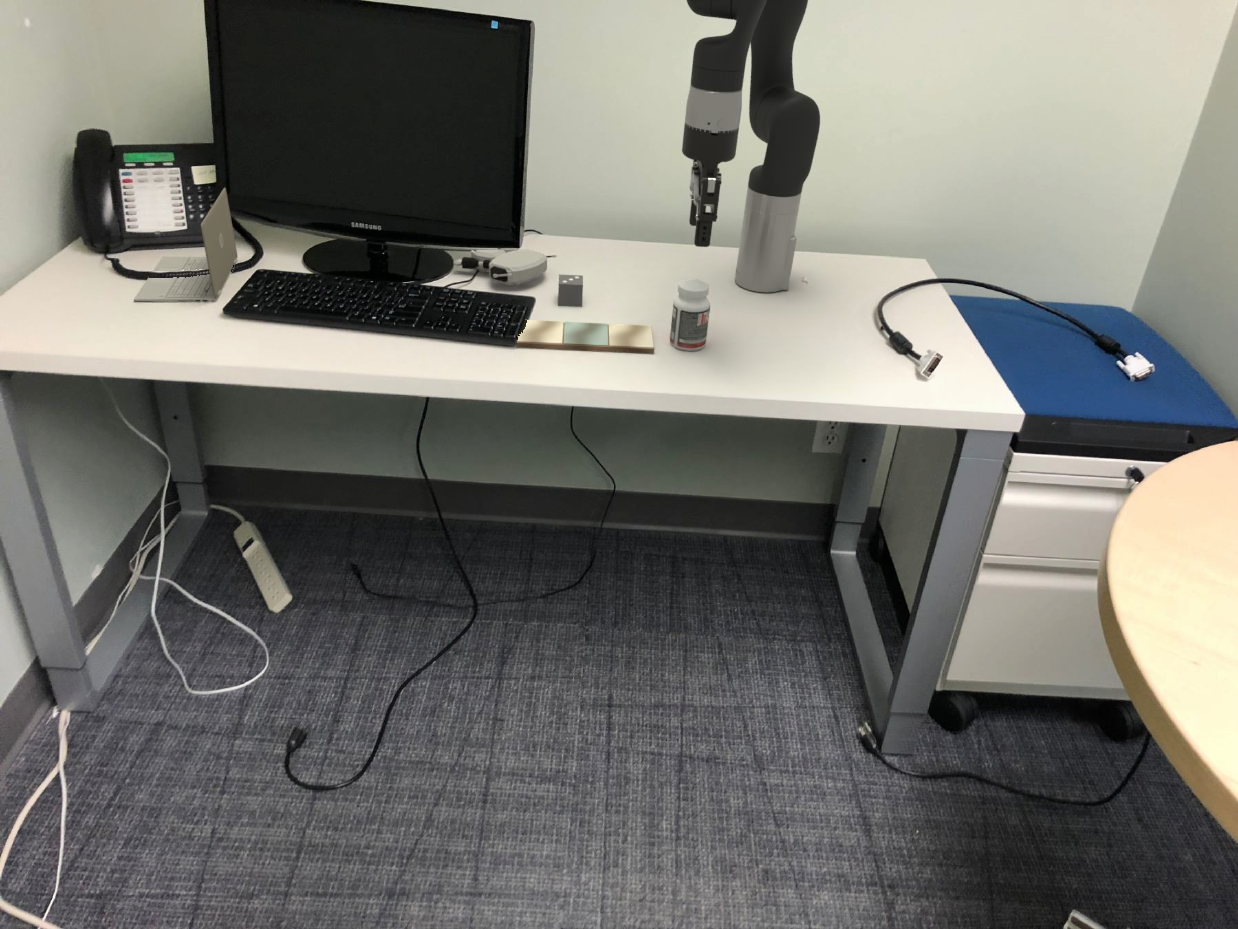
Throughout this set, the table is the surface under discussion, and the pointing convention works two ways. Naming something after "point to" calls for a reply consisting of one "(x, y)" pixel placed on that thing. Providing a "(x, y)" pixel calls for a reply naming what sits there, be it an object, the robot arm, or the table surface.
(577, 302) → the die
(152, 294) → the laptop
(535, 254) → the robot toy
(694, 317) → the pill bottle
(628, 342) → the board
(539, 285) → the table surface
